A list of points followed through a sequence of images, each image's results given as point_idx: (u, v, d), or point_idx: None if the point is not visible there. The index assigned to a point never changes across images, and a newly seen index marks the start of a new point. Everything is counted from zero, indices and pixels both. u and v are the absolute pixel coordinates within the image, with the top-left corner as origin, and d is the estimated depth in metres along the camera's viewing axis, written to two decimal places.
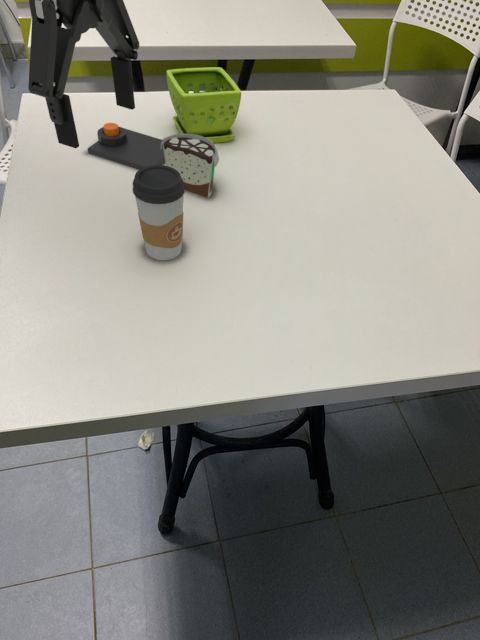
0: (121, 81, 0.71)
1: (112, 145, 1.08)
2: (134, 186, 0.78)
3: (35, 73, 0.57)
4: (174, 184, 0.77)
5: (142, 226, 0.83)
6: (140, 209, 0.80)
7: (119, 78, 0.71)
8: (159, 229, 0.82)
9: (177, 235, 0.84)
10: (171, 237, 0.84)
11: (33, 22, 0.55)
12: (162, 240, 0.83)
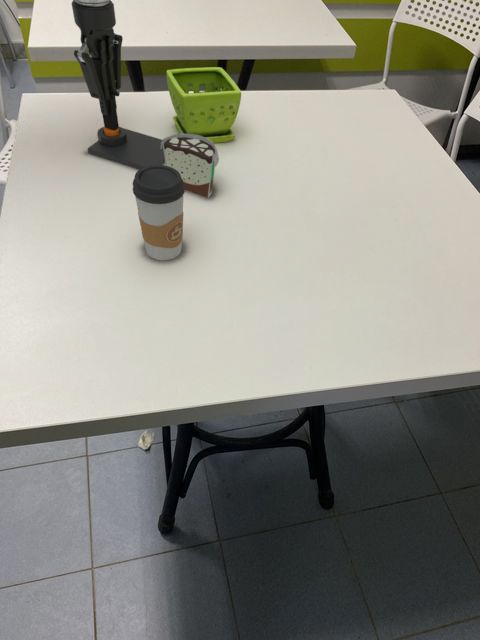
0: None
1: (112, 145, 1.08)
2: (134, 186, 0.78)
3: (91, 89, 0.99)
4: (174, 184, 0.77)
5: (142, 226, 0.83)
6: (140, 209, 0.80)
7: None
8: (159, 229, 0.82)
9: (177, 235, 0.84)
10: (171, 237, 0.84)
11: (80, 64, 0.95)
12: (162, 240, 0.83)
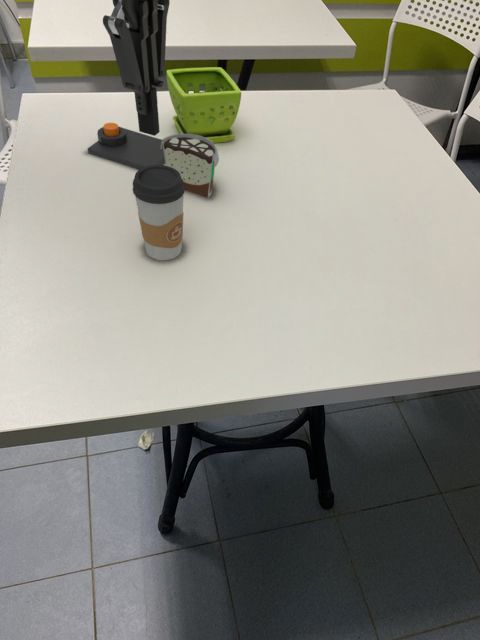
0: None
1: (112, 145, 1.08)
2: (134, 186, 0.78)
3: (125, 76, 0.67)
4: (174, 184, 0.77)
5: (142, 226, 0.83)
6: (140, 209, 0.80)
7: None
8: (159, 229, 0.82)
9: (177, 235, 0.84)
10: (171, 237, 0.84)
11: (111, 37, 0.63)
12: (162, 240, 0.83)
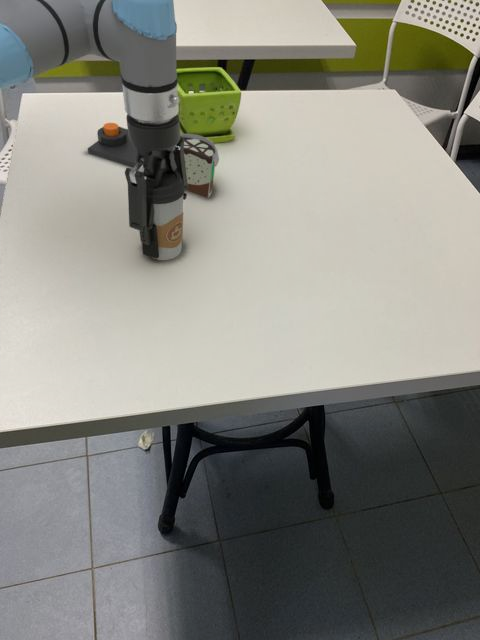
0: None
1: (112, 145, 1.08)
2: None
3: (133, 217, 0.76)
4: (174, 184, 0.77)
5: None
6: None
7: None
8: (159, 229, 0.82)
9: (177, 235, 0.84)
10: (171, 237, 0.84)
11: (128, 185, 0.73)
12: (162, 240, 0.83)
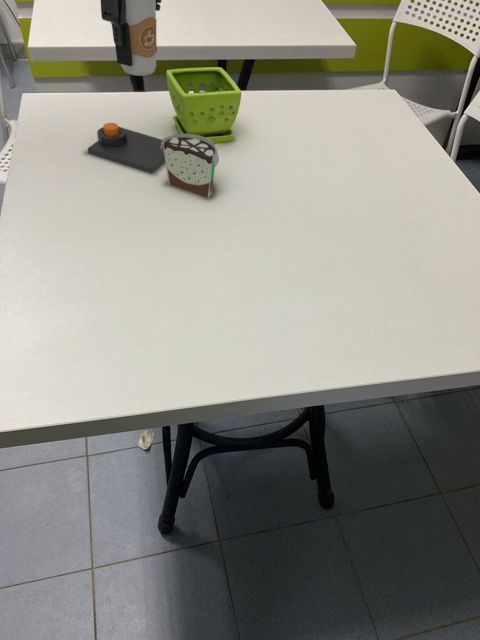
0: None
1: (112, 145, 1.08)
2: None
3: (105, 5, 0.79)
4: None
5: None
6: None
7: None
8: (132, 30, 0.84)
9: (150, 43, 0.87)
10: (144, 43, 0.87)
11: None
12: (135, 44, 0.86)
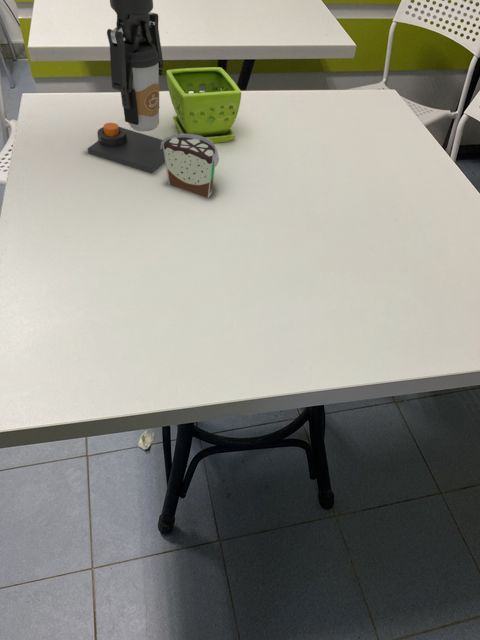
0: None
1: (112, 145, 1.08)
2: None
3: (115, 77, 0.91)
4: (149, 51, 0.92)
5: None
6: None
7: None
8: (138, 95, 0.97)
9: (154, 104, 0.99)
10: (149, 105, 0.99)
11: (110, 46, 0.88)
12: (141, 106, 0.98)
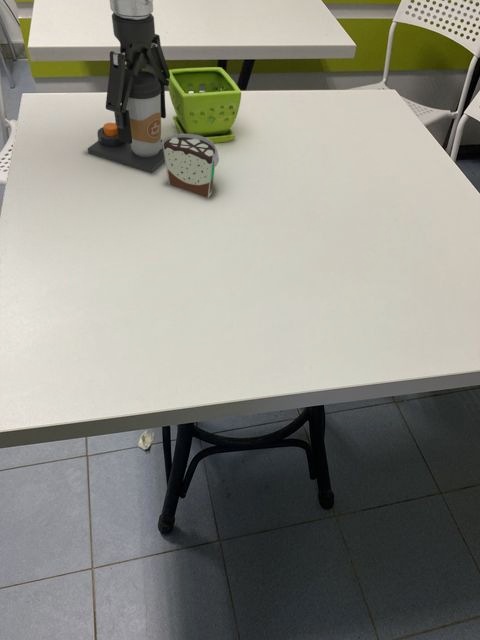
0: None
1: (112, 145, 1.08)
2: None
3: (110, 97, 0.92)
4: (152, 83, 0.97)
5: None
6: None
7: None
8: (141, 123, 1.01)
9: (156, 132, 1.04)
10: (151, 133, 1.03)
11: (111, 67, 0.90)
12: (144, 134, 1.03)
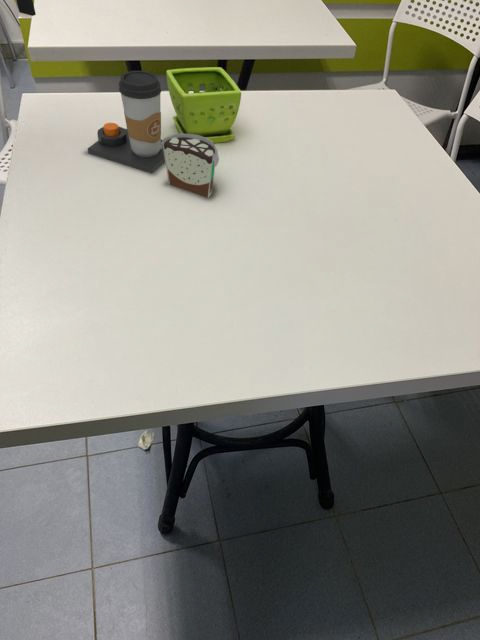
0: None
1: (112, 145, 1.08)
2: (120, 85, 0.97)
3: None
4: (152, 83, 0.97)
5: (127, 122, 1.02)
6: (125, 105, 0.99)
7: None
8: (141, 123, 1.01)
9: (156, 131, 1.04)
10: (151, 133, 1.03)
11: None
12: (143, 134, 1.03)
